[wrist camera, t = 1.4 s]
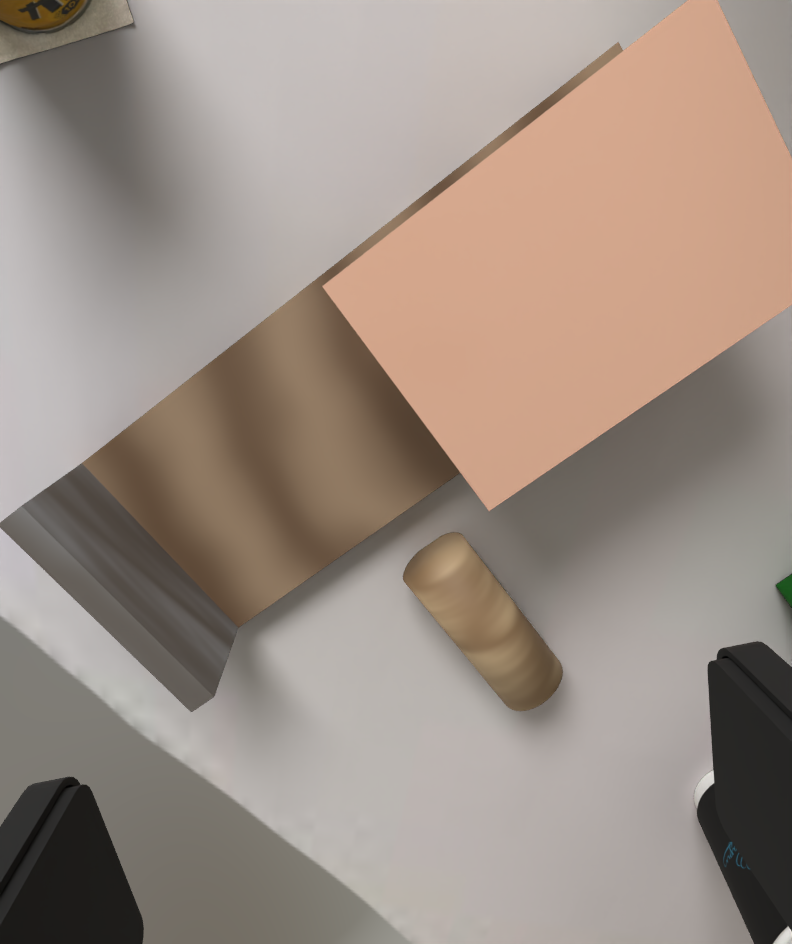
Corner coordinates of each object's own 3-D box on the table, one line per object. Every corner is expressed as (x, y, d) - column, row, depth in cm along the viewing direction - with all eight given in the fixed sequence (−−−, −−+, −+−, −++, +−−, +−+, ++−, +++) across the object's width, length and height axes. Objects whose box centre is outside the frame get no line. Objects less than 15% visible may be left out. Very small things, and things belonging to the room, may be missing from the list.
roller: (447, 526, 37) (475, 542, 33) (540, 645, 40) (575, 673, 36) (394, 572, 36) (416, 594, 32) (492, 690, 39) (522, 723, 35)
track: (606, 52, 29) (683, -15, 22) (725, 275, 32) (825, 279, 25) (74, 470, 34) (-3, 524, 27) (224, 626, 37) (191, 712, 30)
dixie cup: (683, 742, 42) (789, 904, 31) (801, 745, 42) (945, 905, 32) (660, 837, 44) (751, 1017, 33) (771, 839, 44) (896, 1016, 34)
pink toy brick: (625, 52, 28) (709, -17, 21) (738, 267, 31) (844, 268, 24) (332, 280, 30) (322, 286, 23) (463, 459, 33) (489, 511, 26)
